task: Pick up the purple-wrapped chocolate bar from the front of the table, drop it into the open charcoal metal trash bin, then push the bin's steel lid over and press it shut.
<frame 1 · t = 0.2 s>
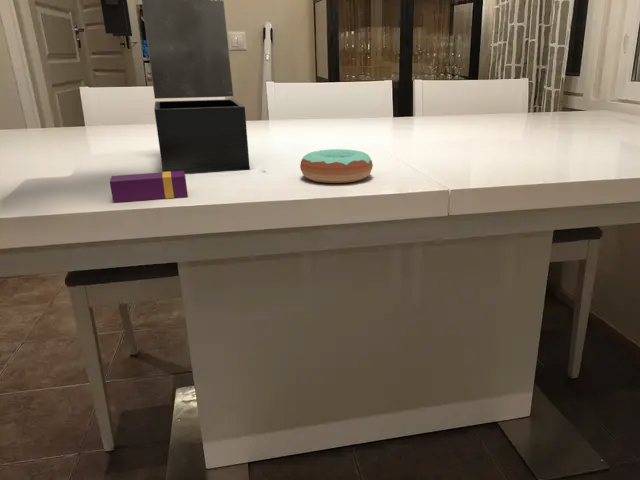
hand: (120, 35, 79), 22 cm above the table, tool pointing down, fingers open, 13 cm apart
donut: (336, 178, 93), on the table
trash bin: (204, 163, 104), on the table
bin lid: (188, 51, 108), point 19 cm above the table, hinge at 100.0°
chocolate bar: (151, 196, 81), on the table
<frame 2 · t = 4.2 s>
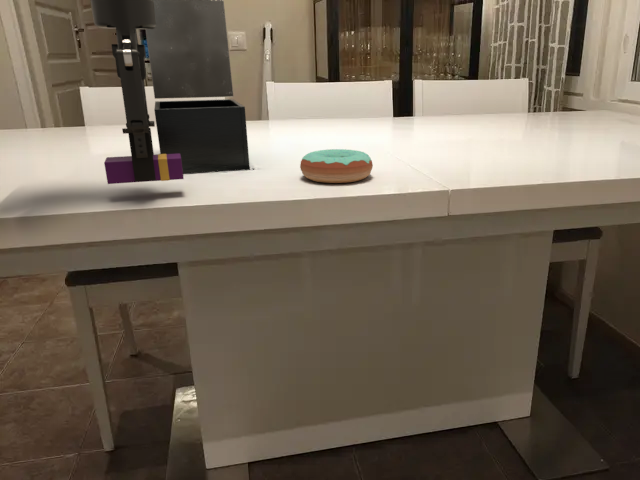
hand: (145, 176, 80), 3 cm above the table, tool pointing down, fingers closed on chocolate bar, 4 cm apart
chocolate bar: (146, 178, 80), point 3 cm above the table, touching gripper
everything else where it was.
when the fingers open (7 cm above the table, at t = 9.7 s): chocolate bar drops 6 cm, resting on trash bin.
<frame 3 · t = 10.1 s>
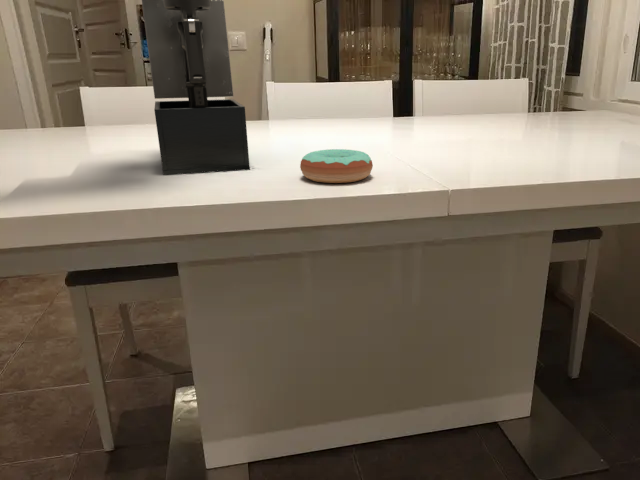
hand: (200, 123, 100), 7 cm above the table, tool pointing down, fingers open, 9 cm apart
chocolate bar: (204, 160, 102), point 1 cm above the table, touching trash bin
everything else where it was.
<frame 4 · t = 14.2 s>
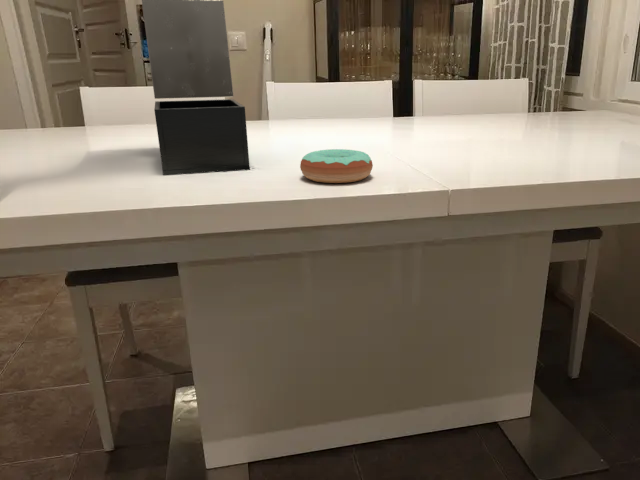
bin lid: (188, 52, 108), point 19 cm above the table, hinge at 101.7°
everything else where it was.
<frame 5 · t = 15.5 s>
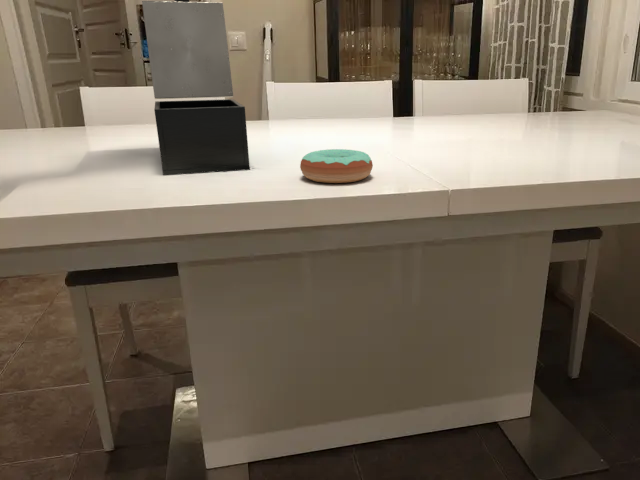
hand: (188, 50, 115), 20 cm above the table, tool pointing down, fingers closed
bin lid: (188, 54, 109), point 19 cm above the table, hinge at 106.0°, touching gripper
everything else where it was.
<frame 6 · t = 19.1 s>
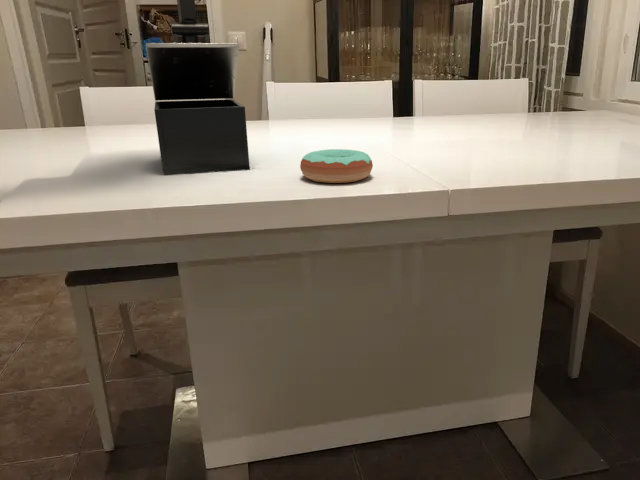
hand: (193, 70, 100), 16 cm above the table, tool pointing down, fingers closed
bin lid: (192, 60, 99), point 18 cm above the table, hinge at 31.7°, touching gripper
everything else where it was.
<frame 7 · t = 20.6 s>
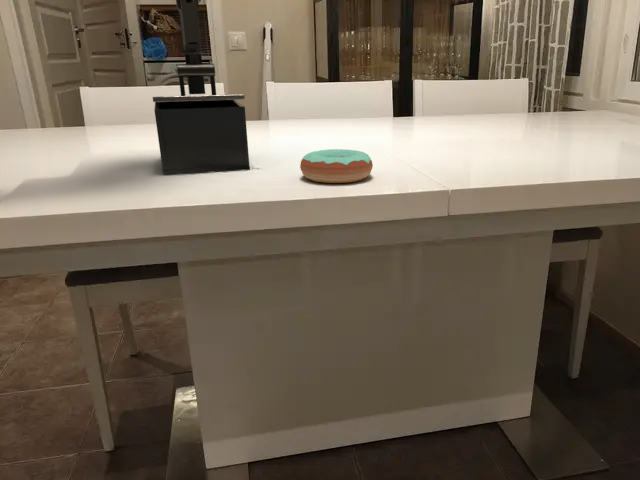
hand: (197, 93, 99), 13 cm above the table, tool pointing down, fingers closed
bin lid: (195, 83, 98), point 14 cm above the table, hinge at 3.8°, touching gripper
everything else where it was.
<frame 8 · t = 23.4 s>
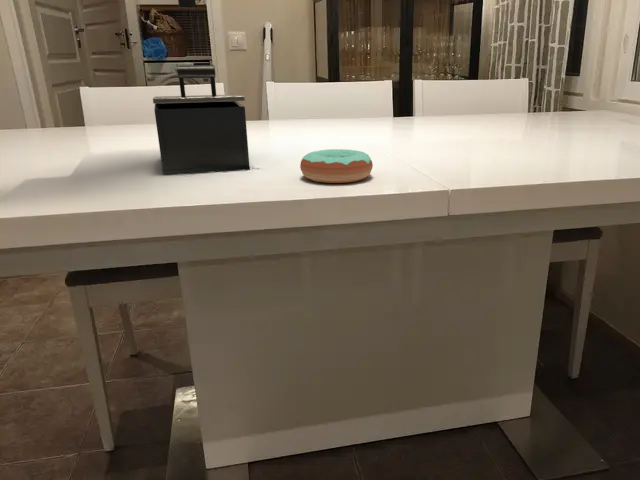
hand: (187, 7, 93), 26 cm above the table, tool pointing down, fingers closed
bin lid: (195, 83, 98), point 14 cm above the table, hinge at 3.0°
everything else where it was.
at the end: chocolate bar inside the target area in the trash bin (1.5 cm from its centre), point 0.8 cm above the trash bin's base; bin lid at +3° (first picture: +100°); the gripper is holding nothing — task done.
